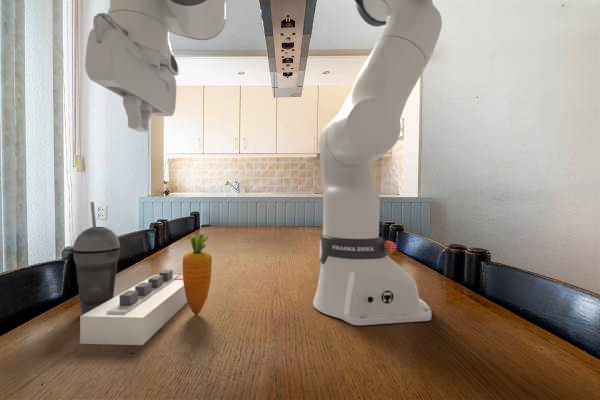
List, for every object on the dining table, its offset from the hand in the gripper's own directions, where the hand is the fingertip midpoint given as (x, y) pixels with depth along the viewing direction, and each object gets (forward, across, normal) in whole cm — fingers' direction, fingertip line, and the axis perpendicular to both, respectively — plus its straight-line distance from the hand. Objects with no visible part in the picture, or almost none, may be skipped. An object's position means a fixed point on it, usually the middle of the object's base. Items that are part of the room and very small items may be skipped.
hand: (138, 130), depth 49 cm
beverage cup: (+32, +4, +10) cm, 34 cm away
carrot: (+32, +4, -8) cm, 34 cm away
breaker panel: (+32, +4, 0) cm, 33 cm away
